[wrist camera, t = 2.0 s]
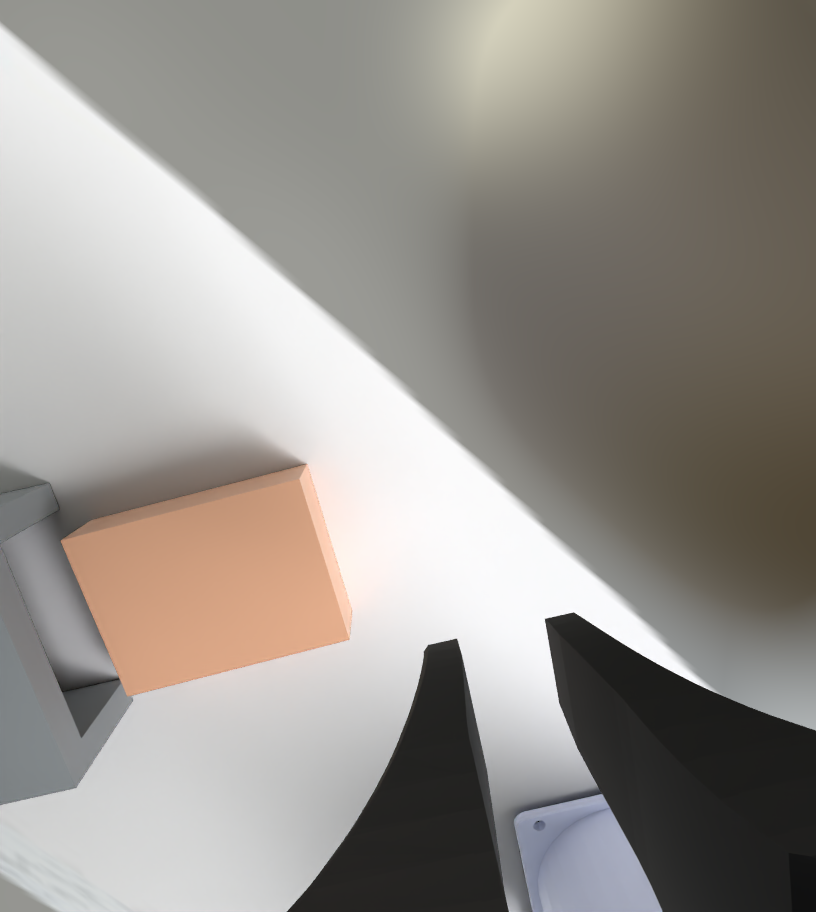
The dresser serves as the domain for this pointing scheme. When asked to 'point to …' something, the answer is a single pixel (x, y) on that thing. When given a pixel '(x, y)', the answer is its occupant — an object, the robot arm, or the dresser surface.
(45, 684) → the block
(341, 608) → the slab
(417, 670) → the dresser surface
